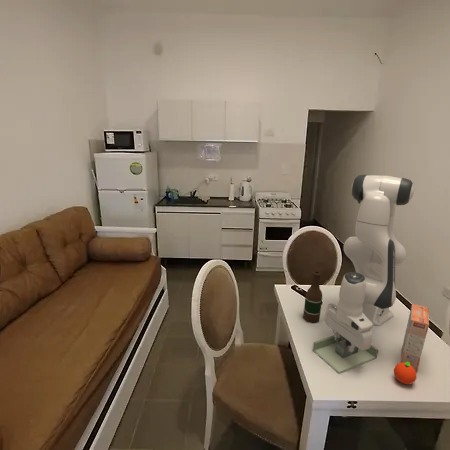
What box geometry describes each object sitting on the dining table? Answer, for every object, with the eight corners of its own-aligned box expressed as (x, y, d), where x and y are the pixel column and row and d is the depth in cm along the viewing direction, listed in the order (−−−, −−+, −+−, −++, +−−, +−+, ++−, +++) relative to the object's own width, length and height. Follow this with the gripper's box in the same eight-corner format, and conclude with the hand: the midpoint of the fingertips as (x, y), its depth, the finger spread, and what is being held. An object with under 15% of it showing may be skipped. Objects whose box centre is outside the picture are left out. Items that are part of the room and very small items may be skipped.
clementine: (395, 369, 116) (398, 353, 114) (416, 378, 112) (420, 362, 110) (390, 381, 110) (393, 365, 108) (412, 392, 106) (416, 374, 104)
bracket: (342, 358, 120) (345, 343, 119) (335, 351, 124) (337, 337, 122) (357, 352, 124) (360, 338, 122) (349, 346, 127) (352, 332, 125)
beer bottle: (308, 312, 153) (313, 267, 146) (322, 319, 147) (329, 272, 141) (299, 318, 147) (304, 271, 141) (314, 325, 142) (320, 277, 135)
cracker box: (417, 374, 114) (429, 324, 109) (399, 367, 117) (409, 319, 112) (418, 352, 126) (429, 307, 120) (401, 347, 129) (411, 302, 123)
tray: (348, 337, 134) (350, 329, 133) (376, 358, 122) (378, 349, 121) (312, 350, 125) (313, 342, 124) (338, 373, 113) (340, 364, 112)
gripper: (322, 303, 126) (319, 332, 130) (364, 331, 108) (358, 364, 112) (334, 300, 128) (330, 329, 132) (377, 326, 111) (371, 359, 115)
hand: (343, 345), depth 122 cm, fingers open, 5 cm apart
